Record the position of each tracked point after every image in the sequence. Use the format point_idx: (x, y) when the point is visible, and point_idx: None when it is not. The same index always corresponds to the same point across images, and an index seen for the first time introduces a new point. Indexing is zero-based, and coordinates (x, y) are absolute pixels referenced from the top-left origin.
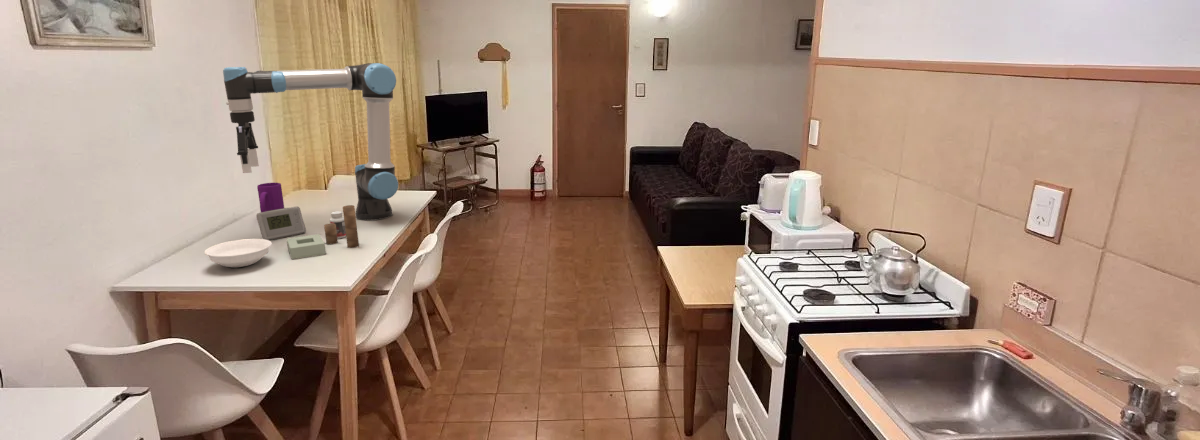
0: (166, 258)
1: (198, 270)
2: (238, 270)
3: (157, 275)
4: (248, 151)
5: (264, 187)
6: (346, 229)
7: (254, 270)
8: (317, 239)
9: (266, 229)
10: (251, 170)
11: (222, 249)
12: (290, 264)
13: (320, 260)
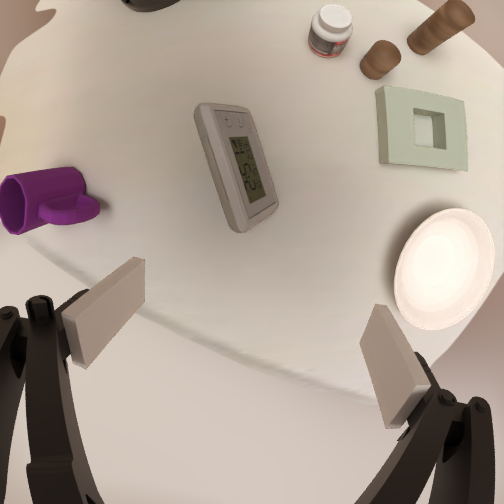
0: (300, 373)
1: None
2: None
3: None
4: (93, 356)
5: (27, 215)
6: (443, 41)
7: None
8: (430, 102)
9: (267, 203)
10: (379, 309)
11: (405, 300)
12: (477, 178)
13: (479, 126)
